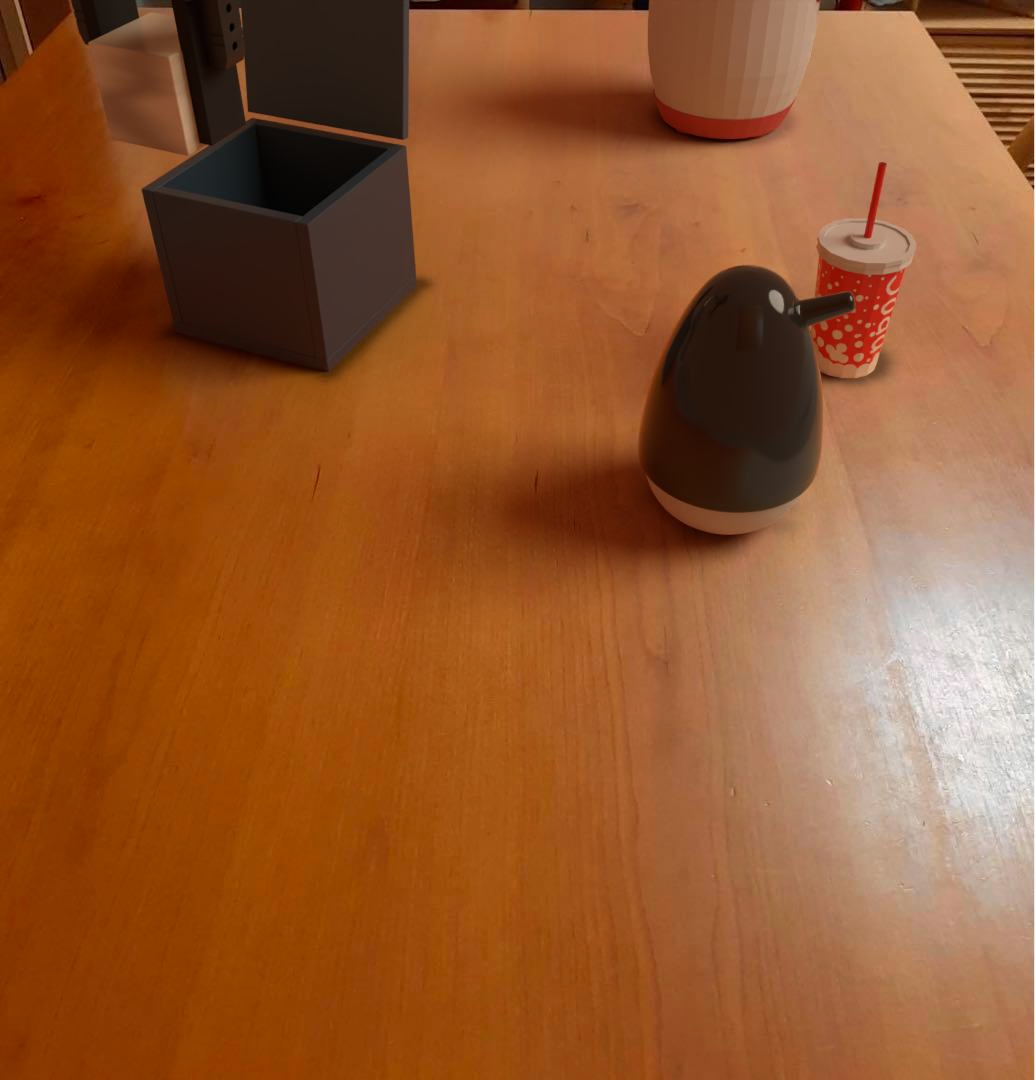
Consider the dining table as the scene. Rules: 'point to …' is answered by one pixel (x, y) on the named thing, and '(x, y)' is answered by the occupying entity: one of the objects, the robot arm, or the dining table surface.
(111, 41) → the block
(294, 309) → the box
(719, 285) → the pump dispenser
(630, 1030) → the dining table surface
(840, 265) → the beverage cup
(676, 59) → the citrus juicer
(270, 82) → the lid
